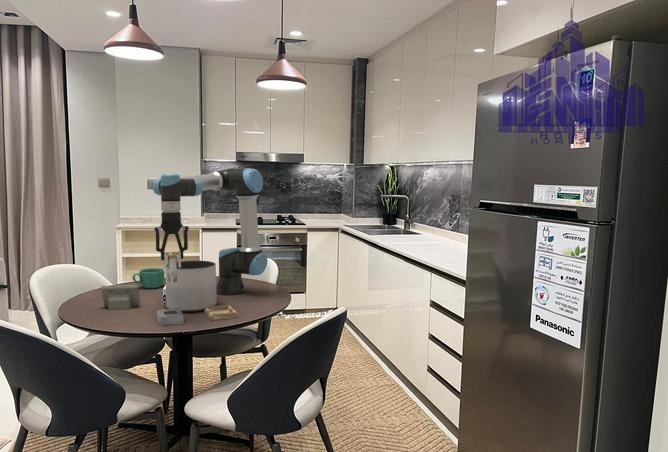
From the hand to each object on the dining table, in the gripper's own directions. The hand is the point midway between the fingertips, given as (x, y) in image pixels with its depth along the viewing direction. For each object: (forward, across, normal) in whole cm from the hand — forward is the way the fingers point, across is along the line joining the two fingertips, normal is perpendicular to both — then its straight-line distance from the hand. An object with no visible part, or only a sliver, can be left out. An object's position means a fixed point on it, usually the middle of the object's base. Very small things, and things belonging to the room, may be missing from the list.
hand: (172, 267), depth 201 cm
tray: (+23, +20, 0) cm, 30 cm away
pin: (+6, 0, 0) cm, 6 cm away
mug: (+23, -4, +69) cm, 73 cm away
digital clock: (+23, -19, +31) cm, 43 cm away
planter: (+23, +10, +19) cm, 31 cm away
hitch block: (+22, -1, 0) cm, 22 cm away
